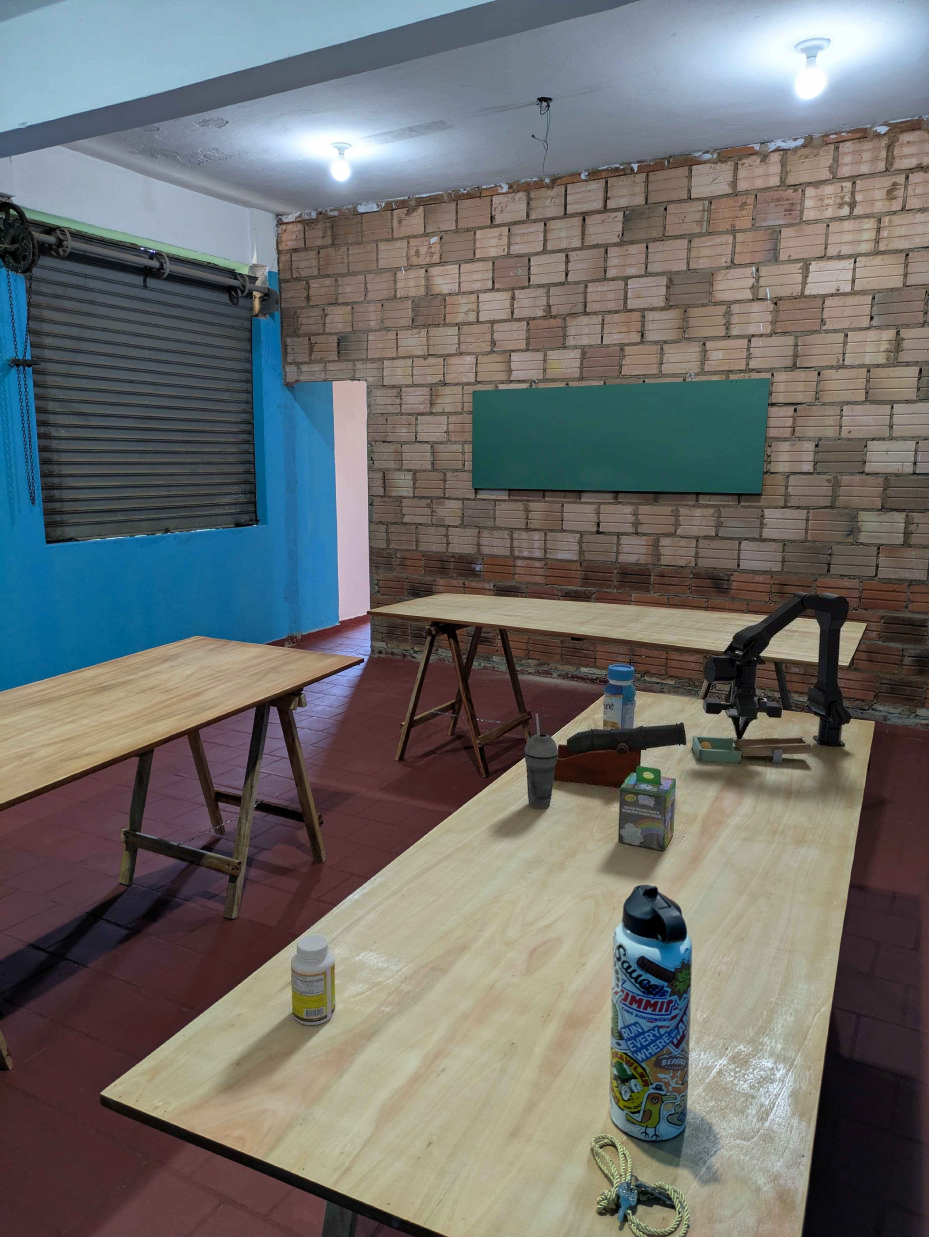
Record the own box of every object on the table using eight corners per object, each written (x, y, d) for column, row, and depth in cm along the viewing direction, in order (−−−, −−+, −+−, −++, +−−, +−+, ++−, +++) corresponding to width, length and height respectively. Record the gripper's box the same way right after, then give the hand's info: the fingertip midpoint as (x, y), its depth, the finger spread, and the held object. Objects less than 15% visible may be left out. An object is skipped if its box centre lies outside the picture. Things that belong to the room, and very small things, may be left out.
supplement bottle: (316, 995, 114) (315, 925, 113) (344, 1012, 111) (343, 941, 109) (283, 1014, 110) (281, 943, 108) (310, 1033, 107) (309, 959, 105)
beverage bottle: (636, 746, 218) (640, 671, 215) (603, 746, 218) (607, 670, 215) (630, 736, 227) (634, 663, 223) (598, 735, 227) (602, 662, 223)
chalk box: (674, 833, 167) (678, 762, 164) (664, 852, 159) (669, 777, 156) (627, 824, 171) (631, 754, 168) (615, 842, 162) (619, 769, 160)
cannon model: (682, 797, 186) (687, 731, 183) (549, 782, 193) (552, 718, 191) (683, 777, 198) (688, 715, 195) (558, 763, 205) (560, 703, 203)
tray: (692, 747, 219) (692, 735, 218) (731, 749, 218) (732, 738, 217) (698, 761, 208) (699, 749, 208) (740, 763, 207) (741, 752, 207)
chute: (732, 740, 221) (731, 732, 221) (797, 738, 219) (797, 729, 218) (741, 756, 209) (741, 747, 209) (810, 753, 207) (810, 744, 207)
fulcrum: (765, 752, 216) (766, 739, 215) (773, 753, 215) (774, 740, 215) (772, 763, 208) (774, 750, 207) (781, 764, 207) (782, 750, 207)
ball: (712, 743, 214) (707, 753, 215) (702, 738, 214) (696, 748, 215) (714, 747, 211) (709, 757, 212) (703, 741, 211) (698, 752, 212)
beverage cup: (554, 813, 176) (558, 720, 172) (519, 809, 177) (522, 717, 173) (558, 800, 183) (561, 710, 179) (524, 796, 184) (527, 708, 180)
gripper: (711, 687, 209) (706, 747, 211) (790, 691, 207) (784, 752, 209) (704, 676, 219) (699, 734, 222) (779, 680, 217) (773, 738, 220)
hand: (738, 740), depth 218 cm, fingers closed, pressing on chute
